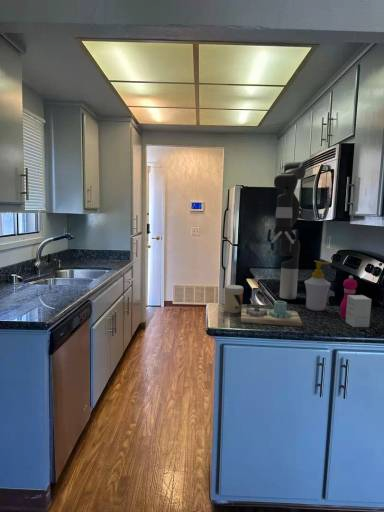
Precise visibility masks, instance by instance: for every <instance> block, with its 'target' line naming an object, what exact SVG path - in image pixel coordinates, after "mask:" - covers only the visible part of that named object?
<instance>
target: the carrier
mask: <svg viewBox="0 0 384 512" xmlns="http://www.w3.org/2000/svg"><path fill="white" fill-rule="evenodd" d="M253 305H254V306H253V307H241V312H240V313H241V314H240V323H248V324H263V325H265V324H266V325H277V326H278V325H279V326H289V327H291V326H292V327H302V326H303V322H302V319H301V318H300V316H299V314H298V312H297V310H289V311H290V312H291V317H289V318H279V317H278V318H275V317H272V316H270V315H269V310H270V309H267V308H266V309H265V308H263V307H262V308H261V306H260V303H258V302H257V303H256V302H255V303H254V304H253Z"/></svg>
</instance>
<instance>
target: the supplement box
mask: <svg viewBox="0 0 384 512" xmlns="http://www.w3.org/2000/svg"><path fill="white" fill-rule="evenodd" d="M371 310H372V298H369V297H367V296H366V295H363V294H356V295H355V294H354V295H348V297H347V309H346V318H345V323H346V324H348V325H349V326H351V327H352V328H369V327H370V320H371Z"/></svg>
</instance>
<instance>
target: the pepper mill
mask: <svg viewBox="0 0 384 512" xmlns="http://www.w3.org/2000/svg"><path fill="white" fill-rule="evenodd" d="M342 286H343V292H344V296H343V299H342V301H341V302H340V304H339V309H340V314H339V315H340V317H341V318H344V319H346V309H347V297H348V295H355V294H356V288H357V287H358V282H357V280H356V279H354V276H353V275H349V276H348V278H346V279H345V280H343V285H342Z"/></svg>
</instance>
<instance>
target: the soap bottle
mask: <svg viewBox="0 0 384 512" xmlns="http://www.w3.org/2000/svg"><path fill="white" fill-rule="evenodd" d="M313 262H315V263H316V269H314V271H313V272H312V275H311V277H310V278H309V279H305V280H304V285H305V290H306V300H305V306H306V308H307V309H308V310H311V311H315V312H322V311H324V310H325V309H326V308H327V307H326V306H327V298H328V292H329V290H330V288H331V286H332V284H331V282H330V281H328V280H326V279H325V278H324V277H325V273H323V270H322V269H321V267H322V265H330V264H331V262H329V261H328V262H324V261H319V260H313Z"/></svg>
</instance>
